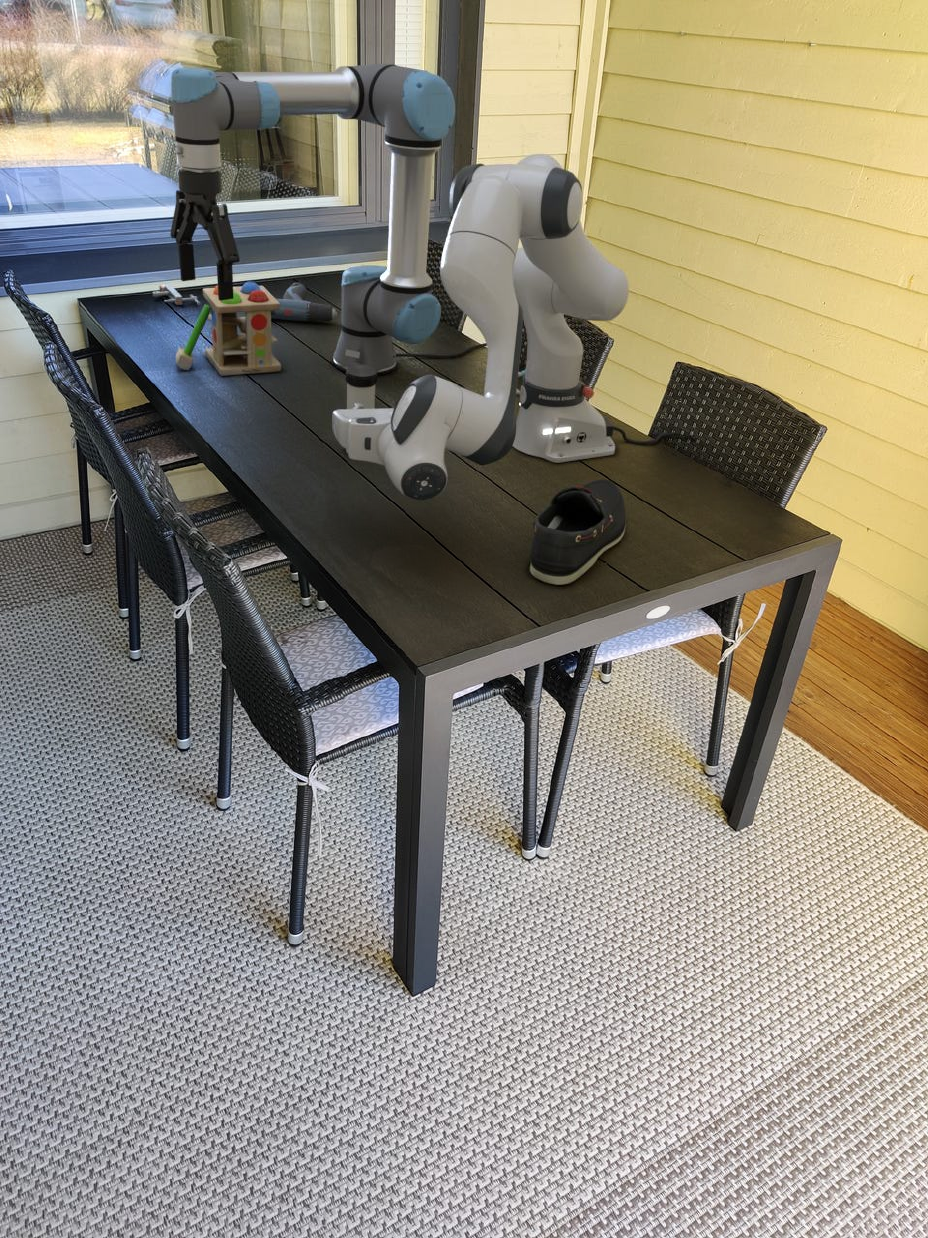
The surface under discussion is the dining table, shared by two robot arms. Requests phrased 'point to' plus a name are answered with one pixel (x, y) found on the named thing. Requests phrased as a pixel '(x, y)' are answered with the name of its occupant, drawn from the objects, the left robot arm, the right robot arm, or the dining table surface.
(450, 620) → the dining table surface
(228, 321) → the pounding bench toy
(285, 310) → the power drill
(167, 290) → the clamp
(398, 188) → the left robot arm
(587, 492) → the boat shoe
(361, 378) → the lid
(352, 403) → the jar
